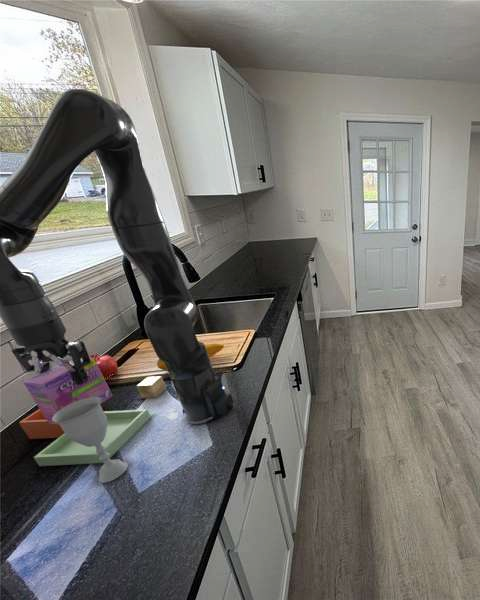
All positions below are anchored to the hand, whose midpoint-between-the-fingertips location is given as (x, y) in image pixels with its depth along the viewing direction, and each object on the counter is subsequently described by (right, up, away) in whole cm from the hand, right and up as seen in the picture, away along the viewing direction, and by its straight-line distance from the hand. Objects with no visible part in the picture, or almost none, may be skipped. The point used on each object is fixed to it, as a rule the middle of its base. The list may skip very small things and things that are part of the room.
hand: (68, 383), depth 73 cm
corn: (+5, -3, +38) cm, 38 cm away
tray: (+1, -16, +7) cm, 17 cm away
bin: (-14, -14, +13) cm, 24 cm away
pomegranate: (-23, -7, +33) cm, 41 cm away
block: (+2, -9, +23) cm, 25 cm away
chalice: (+13, -19, -3) cm, 23 cm away
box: (0, -7, +3) cm, 8 cm away
